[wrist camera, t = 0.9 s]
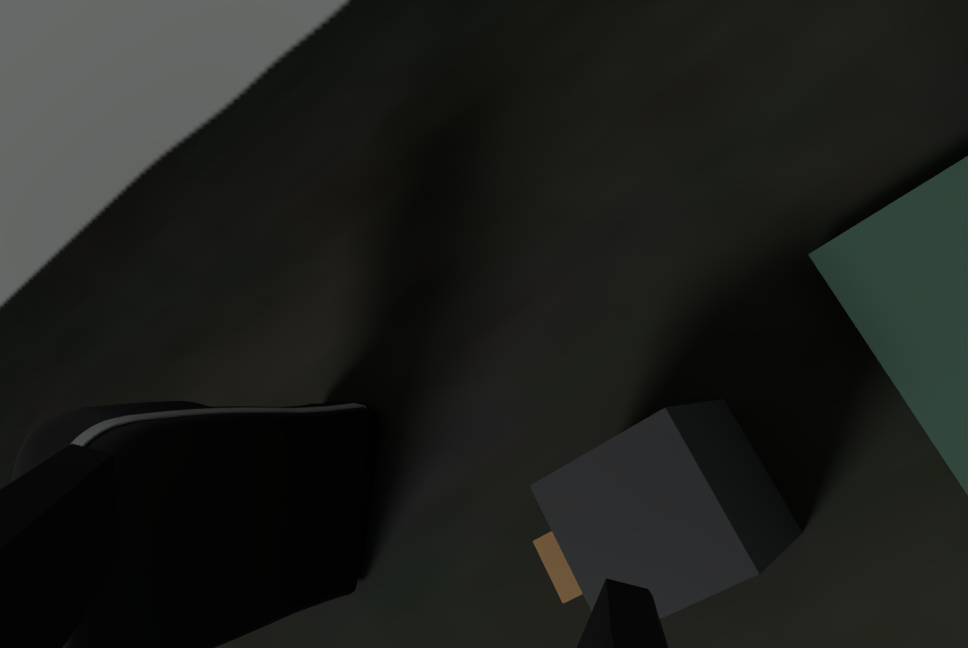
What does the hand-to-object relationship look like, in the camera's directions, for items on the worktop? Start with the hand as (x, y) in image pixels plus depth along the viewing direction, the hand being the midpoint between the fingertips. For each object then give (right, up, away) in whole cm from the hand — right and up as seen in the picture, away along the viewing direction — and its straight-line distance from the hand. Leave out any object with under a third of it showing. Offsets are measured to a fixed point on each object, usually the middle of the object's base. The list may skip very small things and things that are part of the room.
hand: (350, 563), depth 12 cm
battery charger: (-3, -3, +18) cm, 19 cm away
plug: (+8, -1, +11) cm, 14 cm away
